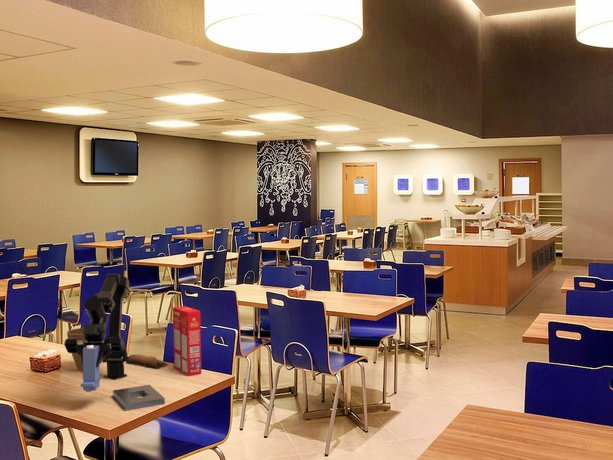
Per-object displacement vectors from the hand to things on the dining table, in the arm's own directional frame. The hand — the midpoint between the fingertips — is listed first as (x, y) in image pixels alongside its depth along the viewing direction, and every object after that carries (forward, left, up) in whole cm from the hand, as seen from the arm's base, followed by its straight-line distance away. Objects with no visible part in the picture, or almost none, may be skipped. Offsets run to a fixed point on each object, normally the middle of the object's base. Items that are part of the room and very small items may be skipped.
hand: (90, 366), depth 213 cm
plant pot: (-41, +28, -13) cm, 51 cm away
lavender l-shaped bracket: (-1, +1, -8) cm, 8 cm away
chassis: (+8, +13, -13) cm, 20 cm away
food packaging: (-4, +48, -14) cm, 50 cm away
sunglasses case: (-26, +47, -14) cm, 55 cm away
